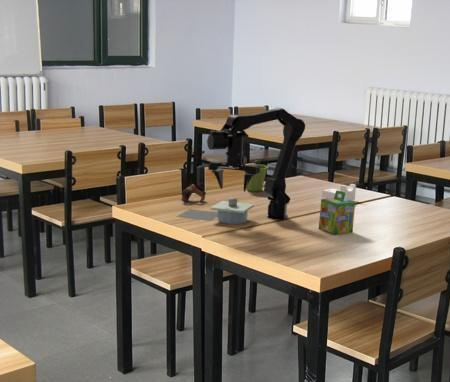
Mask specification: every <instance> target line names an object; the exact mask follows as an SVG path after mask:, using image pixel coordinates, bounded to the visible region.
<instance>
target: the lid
mask: <svg viewBox="0 0 450 382" xmlns="http://www.w3.org/2000/svg"><path fill="white" fill-rule="evenodd" d="M254 207H255V204H252V203H245V202H238V198H236V197H229V198H228V201H226V200H221V201H220V202H218V203H216V204H214V205H212V206H210V210H212V211H217V210H219V211H227V212H236V213H245V212H246V211H247V212H248V211H249V210H251V209H253V208H254Z"/></svg>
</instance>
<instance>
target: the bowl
mask: <svg viewBox="0 0 450 382" xmlns="http://www.w3.org/2000/svg"><path fill="white" fill-rule="evenodd" d="M216 212H217V217H216V218H217V219H216V220H217V221H218V222H220V223H223V224H229V225H231V224H232V225H233V224H235V225H236V224H237V225H239V224H244V223H246V222H247V221H248V211H246V212H245V213H236V212H227V211H219V210H216Z"/></svg>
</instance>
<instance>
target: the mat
mask: <svg viewBox="0 0 450 382" xmlns="http://www.w3.org/2000/svg"><path fill="white" fill-rule="evenodd" d="M175 217H177V218H185V219H192V220H193V219H194V220H201V221H207V222H209V221H212V220H214V219H216V218H217V211H209V210H208V211H207V210H201V209H192V208H190V209H188V210H186V211H183V212H182V213H179V214H178V215H176V216H175Z"/></svg>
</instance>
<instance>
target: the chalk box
mask: <svg viewBox="0 0 450 382" xmlns="http://www.w3.org/2000/svg"><path fill="white" fill-rule="evenodd" d="M338 190H339V189H337V191H336V193H335V196H334V198H321V199H320V209H319V210H320V211H319V212H320V213H319V220H318V221H319V222H318V230H321V231H323V232H326V233H330V234H332V235H341V234H347V233H353V231H354V230H353V229H354V220H355V219H354V218H355V210H356V208H355V207H356V203H355V201H353V200H347V199H344V197H345V192H342V191H338ZM338 194H341V195H342V197H341V198H340V197H338Z"/></svg>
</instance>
